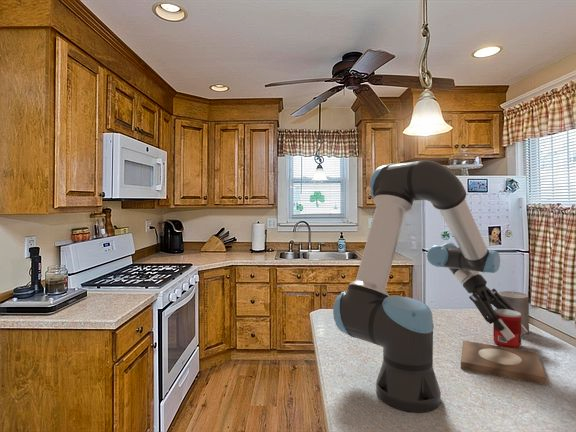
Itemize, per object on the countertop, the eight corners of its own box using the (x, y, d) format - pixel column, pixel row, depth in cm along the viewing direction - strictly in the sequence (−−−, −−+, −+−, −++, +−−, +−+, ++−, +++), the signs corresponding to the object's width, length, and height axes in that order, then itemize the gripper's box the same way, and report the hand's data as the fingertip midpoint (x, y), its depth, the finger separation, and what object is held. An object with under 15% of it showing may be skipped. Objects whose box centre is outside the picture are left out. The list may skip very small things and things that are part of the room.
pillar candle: (514, 325, 136) (514, 287, 136) (535, 333, 126) (535, 293, 126) (492, 326, 135) (491, 288, 134) (511, 335, 125) (511, 294, 125)
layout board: (460, 368, 100) (460, 360, 100) (463, 346, 115) (463, 339, 115) (546, 384, 90) (546, 376, 90) (536, 358, 106) (536, 351, 106)
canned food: (525, 349, 112) (525, 316, 112) (498, 347, 114) (498, 314, 114) (515, 340, 120) (515, 309, 120) (489, 339, 121) (490, 308, 121)
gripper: (479, 281, 135) (524, 335, 122) (447, 288, 124) (492, 348, 111) (493, 270, 130) (542, 324, 117) (461, 276, 120) (510, 336, 106)
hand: (518, 336), depth 114 cm, fingers closed on canned food, 8 cm apart
